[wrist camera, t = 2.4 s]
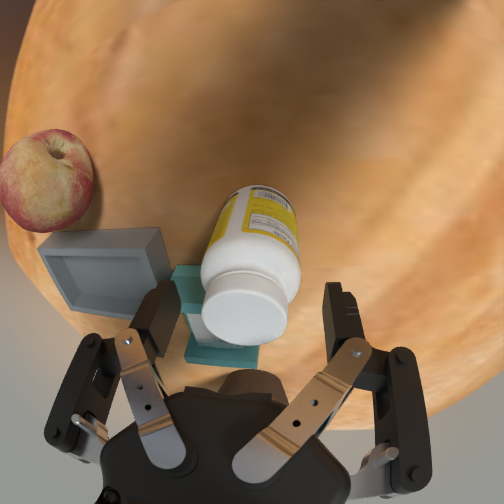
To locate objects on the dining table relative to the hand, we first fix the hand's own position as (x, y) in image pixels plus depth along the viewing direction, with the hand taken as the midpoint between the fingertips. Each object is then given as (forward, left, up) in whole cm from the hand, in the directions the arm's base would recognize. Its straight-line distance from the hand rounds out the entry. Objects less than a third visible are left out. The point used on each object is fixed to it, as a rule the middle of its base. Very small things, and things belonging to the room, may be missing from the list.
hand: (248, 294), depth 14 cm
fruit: (-6, -15, -8) cm, 18 cm away
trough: (+5, -15, -8) cm, 17 cm away
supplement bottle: (0, 0, -8) cm, 8 cm away
